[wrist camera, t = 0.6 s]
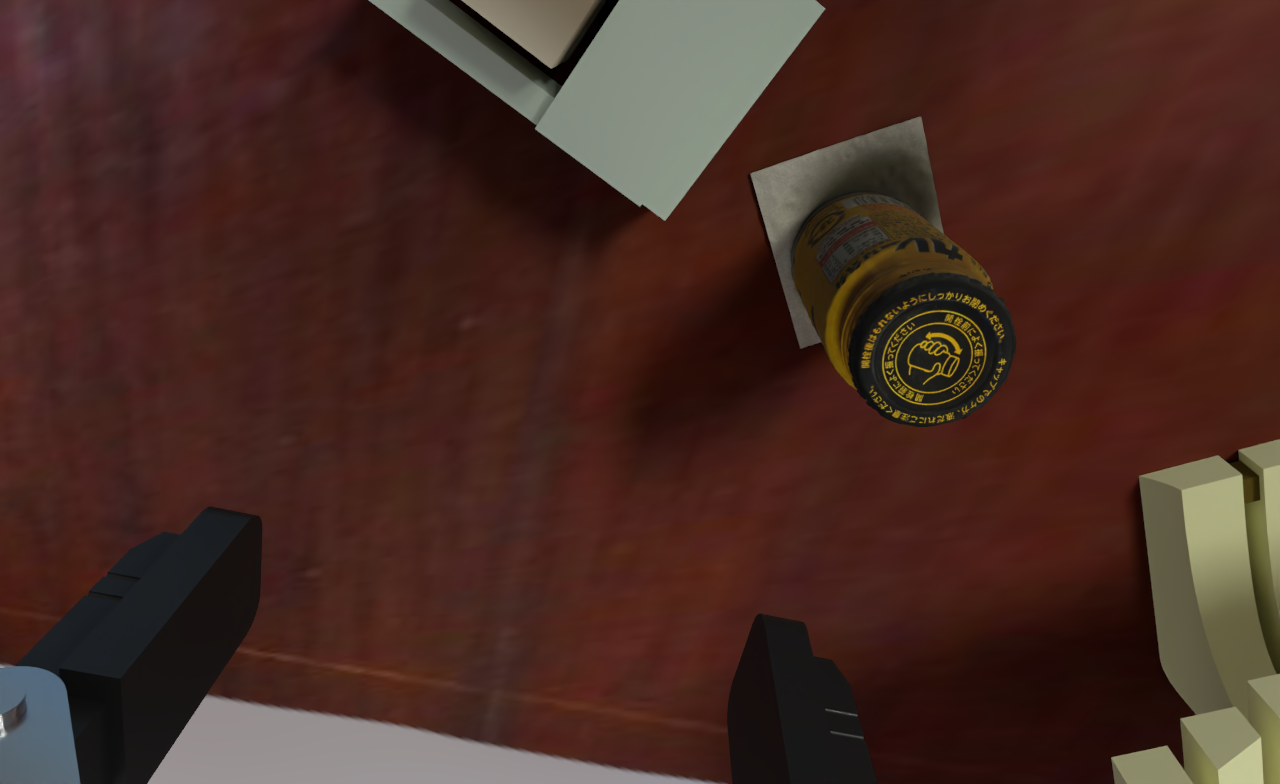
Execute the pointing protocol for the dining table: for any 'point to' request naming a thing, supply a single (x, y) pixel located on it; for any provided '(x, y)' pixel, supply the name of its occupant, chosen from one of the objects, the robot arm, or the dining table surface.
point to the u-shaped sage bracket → (634, 82)
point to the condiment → (885, 278)
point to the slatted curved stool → (1216, 617)
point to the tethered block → (542, 24)
